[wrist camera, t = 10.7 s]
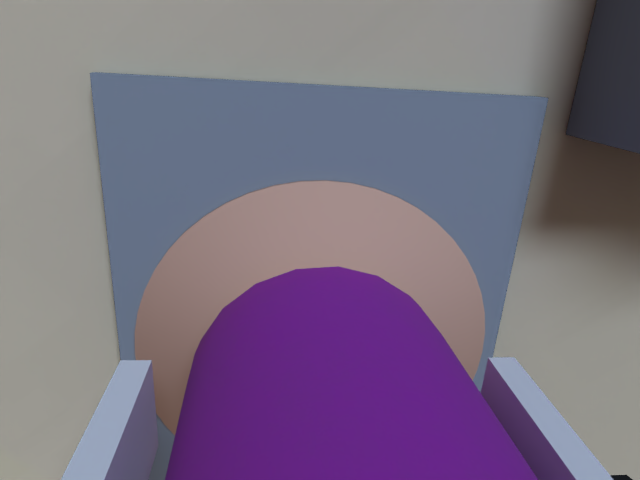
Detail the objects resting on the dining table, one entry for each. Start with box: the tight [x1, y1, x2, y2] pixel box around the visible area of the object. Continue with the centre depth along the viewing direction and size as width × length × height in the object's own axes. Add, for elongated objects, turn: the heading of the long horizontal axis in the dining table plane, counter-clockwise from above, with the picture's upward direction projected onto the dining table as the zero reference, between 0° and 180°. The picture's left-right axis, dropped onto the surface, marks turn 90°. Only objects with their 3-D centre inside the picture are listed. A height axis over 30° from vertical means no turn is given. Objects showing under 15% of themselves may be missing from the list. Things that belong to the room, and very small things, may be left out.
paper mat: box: [90, 72, 548, 480], centre depth 15 cm, size 16×12×1 cm
